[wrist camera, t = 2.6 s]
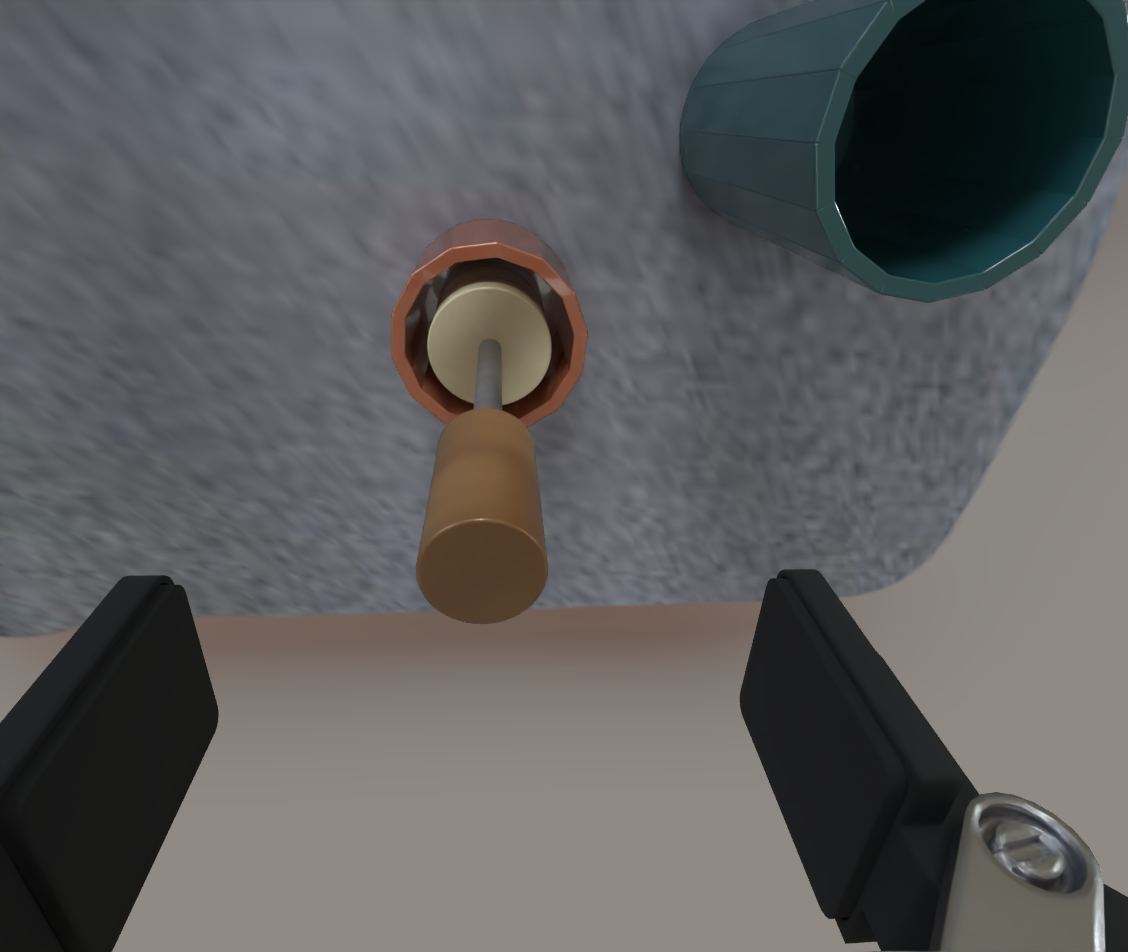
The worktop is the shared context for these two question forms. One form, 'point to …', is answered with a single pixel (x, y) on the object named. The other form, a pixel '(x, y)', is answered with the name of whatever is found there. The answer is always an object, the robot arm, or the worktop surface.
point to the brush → (486, 447)
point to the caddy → (424, 294)
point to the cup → (911, 133)
